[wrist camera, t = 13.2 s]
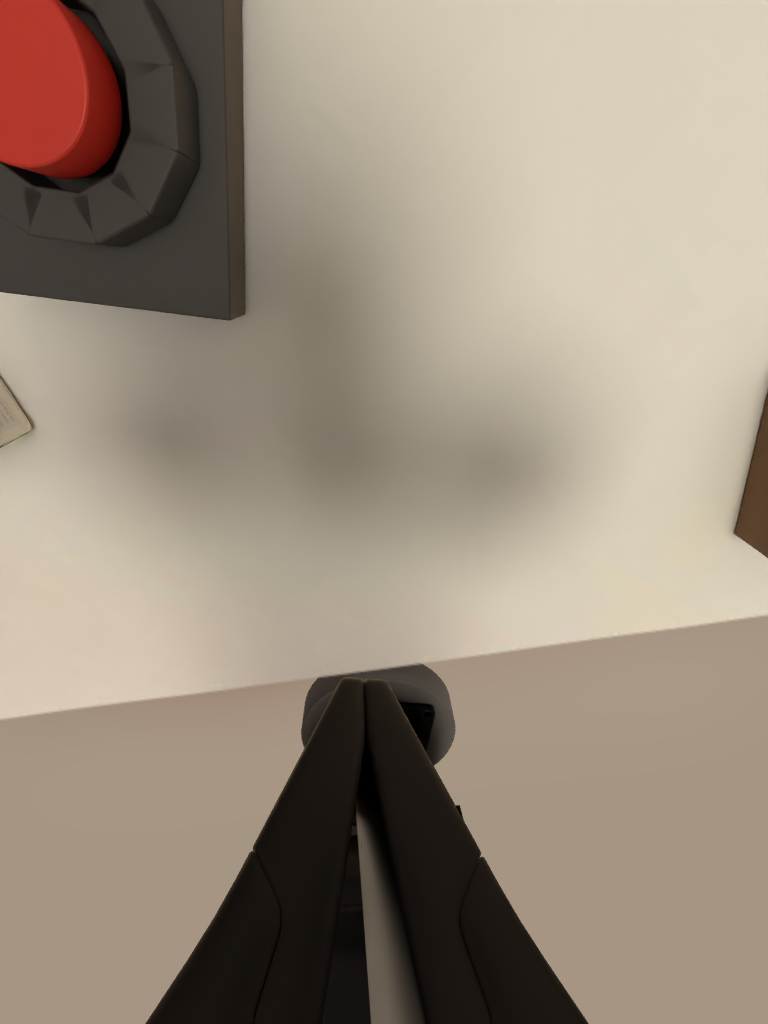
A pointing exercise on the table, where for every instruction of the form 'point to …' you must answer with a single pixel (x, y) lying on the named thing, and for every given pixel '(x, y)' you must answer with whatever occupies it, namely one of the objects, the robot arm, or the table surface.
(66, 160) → the button
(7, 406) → the syrup box
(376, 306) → the table surface
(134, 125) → the block
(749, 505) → the panel
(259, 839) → the robot arm
